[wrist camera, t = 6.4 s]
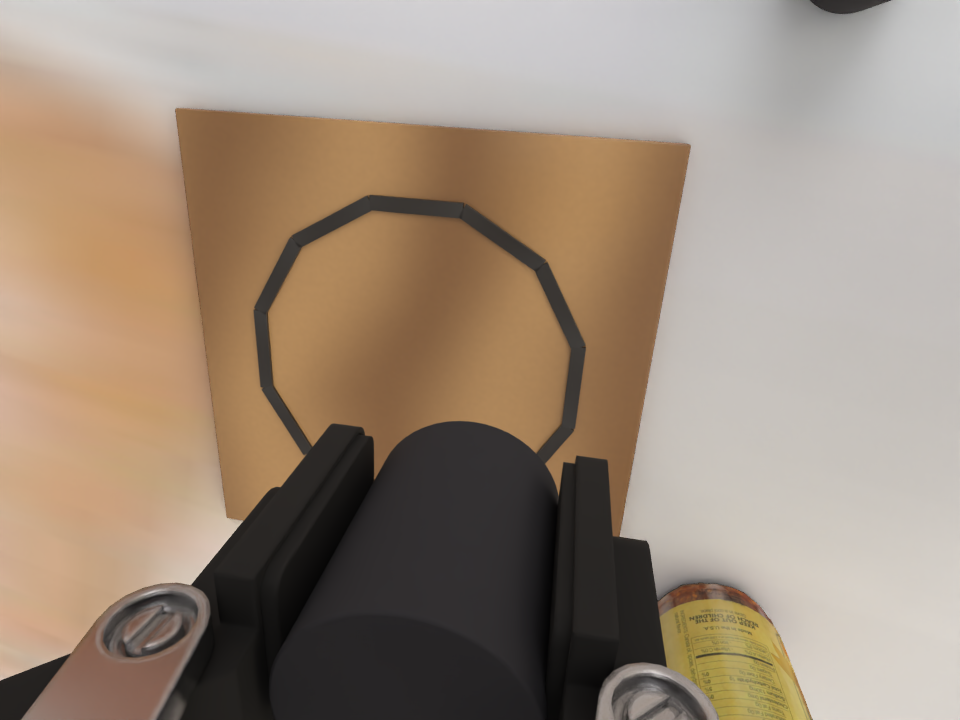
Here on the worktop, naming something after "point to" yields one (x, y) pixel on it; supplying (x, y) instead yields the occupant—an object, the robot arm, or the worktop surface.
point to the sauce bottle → (730, 653)
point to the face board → (424, 286)
